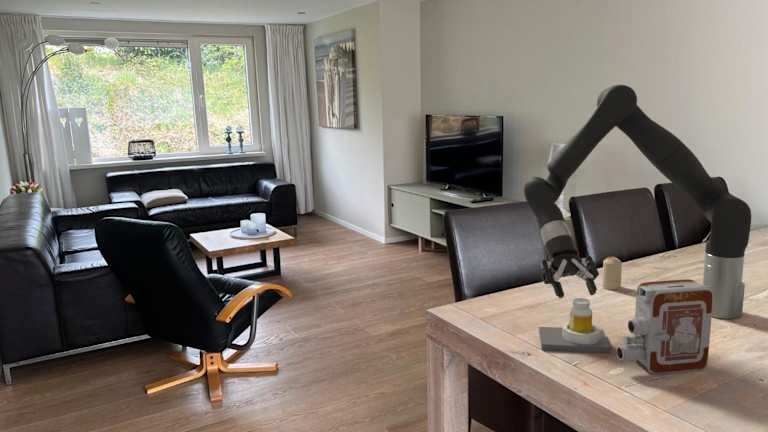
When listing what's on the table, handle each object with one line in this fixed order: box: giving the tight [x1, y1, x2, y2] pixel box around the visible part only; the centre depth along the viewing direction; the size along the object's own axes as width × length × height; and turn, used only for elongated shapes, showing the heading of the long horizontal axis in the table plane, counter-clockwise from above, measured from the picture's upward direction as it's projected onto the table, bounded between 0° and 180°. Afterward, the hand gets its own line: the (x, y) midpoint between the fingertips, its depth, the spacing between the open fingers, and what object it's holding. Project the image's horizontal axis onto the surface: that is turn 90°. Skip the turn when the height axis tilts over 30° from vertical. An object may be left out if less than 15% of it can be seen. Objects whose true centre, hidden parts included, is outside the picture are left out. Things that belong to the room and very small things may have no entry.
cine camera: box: [616, 278, 713, 375], centre depth 126 cm, size 9×19×20 cm, turn 95°
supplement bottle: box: [568, 297, 593, 333], centre depth 142 cm, size 5×5×10 cm
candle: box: [602, 256, 623, 291], centre depth 181 cm, size 6×6×10 cm
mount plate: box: [538, 321, 611, 354], centre depth 143 cm, size 16×11×4 cm
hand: (577, 295), depth 143 cm, fingers open, 8 cm apart
